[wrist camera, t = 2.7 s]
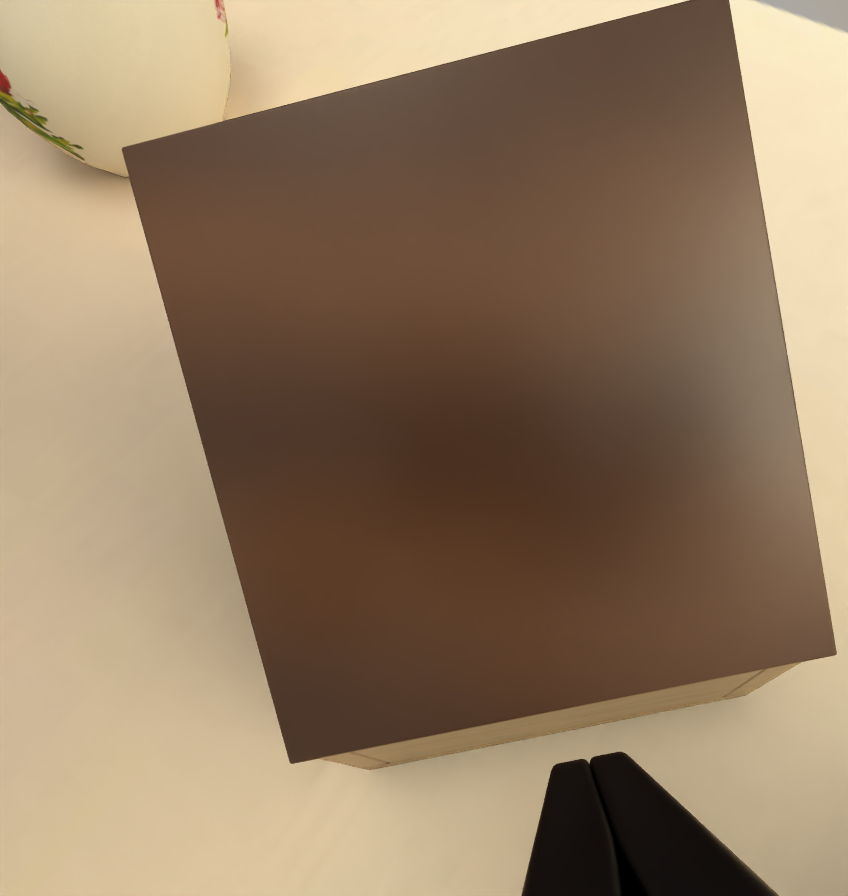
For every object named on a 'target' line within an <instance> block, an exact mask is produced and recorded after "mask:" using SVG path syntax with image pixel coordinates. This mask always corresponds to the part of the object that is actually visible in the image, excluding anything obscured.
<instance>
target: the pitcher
mask: <svg viewBox="0 0 848 896" xmlns="http://www.w3.org/2000/svg"><path fill="white" fill-rule="evenodd" d="M230 76H231V61H230V46H229V36H228V26H227V20H226V14H225V8H224V3H223V0H0V103H1V104H2V105H3V106H4V107H5V108H6V109H7V110H8V111H9V112H10V113H11V114H12V115H14V116H15V117H16V118H17V119H18V120H20V121H21V122H22V123H23V124H24V125H26V126H27V127H28V128H30V129H31V130H32V131H34V132H35V133H36V134H38V135H39V136H41V137H42V138H43V139H45V140H46V141H47V142H49V143H50V144H52V145H53V146H55V147H56V148H58V149H59V150H61V151H63V152H64V153H66V154H67V155H69V156H71V157H73V158H75V159H77V160H79V161H81V162H83V163H85V164H88V165H90V166H93V167H96V168H99V169H103V170H106V171H109V172H112V173H114V174H116V175H120V176H124V177H129V175H128V171H127V168H126V164H125V160H124V157H123V153H122V148H123V147H125V146H129V145H133V144H137V143H141V142H145V141H149V140H153V139H156V138H160V137H164V136H168V135H172V134H176V133H180V132H183V131H187V130H191V129H195V128H199V127H203V126H207V125H210V124H214V123H218V122H222V120H223V114H224V110H225V107H226V103H227V99H228V95H229V87H230Z"/></svg>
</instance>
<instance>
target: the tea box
mask: <svg viewBox="0 0 848 896" xmlns="http://www.w3.org/2000/svg"><path fill="white" fill-rule="evenodd" d="M799 663H800V662H798V663H793V664H788V665H783V666H778V667H773V668H768V669H763V670H758V671H754V672H749V673H744V674H739V675H734V676H729V677H724V678H719V679H714V680H709V681H704V682H699V683H694V684H689V685H684V686H679V687H674V688H669V689H664V690H659V691H654V692H649V693H644V694H639V695H634V696H629V697H624V698H619V699H614V700H609V701H604V702H599V703H594V704H589V705H584V706H579V707H574V708H569V709H564V710H559V711H554V712H549V713H544V714H539V715H534V716H529V717H524V718H519V719H514V720H509V721H504V722H499V723H494V724H489V725H484V726H479V727H474V728H469V729H464V730H459V731H454V732H449V733H444V734H439V735H434V736H429V737H424V738H419V739H414V740H409V741H404V742H399V743H394V744H389V745H384V746H379V747H374V748H369V749H364V750H359V751H354V752H349V753H344V754H339V755H334V756H329V757H324V758H319V759H322V760H327V761H331V762H336V763H340V764H345V765H349V766H354V767H358V768H363V769H367V770H372V769H377V768H382V767H387V766H392V765H397V764H402V763H407V762H412V761H417V760H422V759H427V758H432V757H437V756H442V755H447V754H452V753H457V752H462V751H467V750H472V749H478V748H483V747H488V746H493V745H498V744H503V743H508V742H513V741H518V740H523V739H528V738H533V737H538V736H543V735H548V734H553V733H558V732H563V731H568V730H573V729H578V728H584V727H589V726H594V725H599V724H604V723H609V722H614V721H619V720H624V719H629V718H634V717H639V716H644V715H649V714H654V713H659V712H664V711H669V710H674V709H679V708H684V707H689V706H695V705H700V704H705V703H710V702H715V701H720V700H725V699H730V698H735V697H740V696H745V695H747V694H748V693H750V692H752V691H754V690H756V689H757V688H759V687H761V686H762V685H764V684H766V683H767V682H769V681H771V680H772V679H774V678H776V677H777V676H779V675H781V674H782V673H784V672H786V671H787V670H789V669H790V668H792V667H794V666H795V665H797V664H799Z"/></svg>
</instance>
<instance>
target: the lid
mask: <svg viewBox="0 0 848 896" xmlns="http://www.w3.org/2000/svg"><path fill="white" fill-rule="evenodd" d="M122 153H123V157H124V160H125V164H126V168H127V171H128V175H129V179H130V182H131V186H132V189H133V193H134V197H135V200H136V204H137V208H138V211H139V215H140V219H141V222H142V226H143V229H144V233H145V237H146V240H147V244H148V248H149V251H150V255H151V259H152V262H153V266H154V270H155V273H156V277H157V280H158V284H159V288H160V291H161V295H162V299H163V302H164V306H165V310H166V313H167V317H168V321H169V324H170V328H171V331H172V335H173V339H174V342H175V346H176V350H177V353H178V357H179V361H180V364H181V368H182V372H183V375H184V379H185V382H186V386H187V390H188V393H189V397H190V401H191V404H192V408H193V412H194V415H195V419H196V423H197V426H198V430H199V433H200V437H201V441H202V444H203V448H204V452H205V455H206V459H207V463H208V466H209V470H210V474H211V477H212V481H213V484H214V488H215V492H216V495H217V499H218V503H219V506H220V510H221V514H222V517H223V521H224V525H225V528H226V532H227V535H228V539H229V543H230V546H231V550H232V554H233V557H234V561H235V565H236V568H237V572H238V575H239V579H240V583H241V586H242V590H243V594H244V597H245V601H246V605H247V608H248V612H249V616H250V619H251V623H252V626H253V630H254V634H255V637H256V641H257V645H258V648H259V652H260V656H261V659H262V663H263V667H264V670H265V674H266V677H267V681H268V685H269V688H270V692H271V696H272V699H273V703H274V707H275V710H276V714H277V718H278V721H279V725H280V728H281V732H282V736H283V739H284V743H285V747H286V750H287V754H288V758H289V761H290V763H291V764H294V763H299V762H304V761H309V760H314V759H319V758H324V757H329V756H334V755H339V754H344V753H349V752H354V751H359V750H364V749H369V748H374V747H379V746H384V745H389V744H394V743H399V742H404V741H409V740H414V739H419V738H424V737H429V736H434V735H439V734H444V733H449V732H454V731H459V730H464V729H469V728H474V727H479V726H484V725H489V724H494V723H499V722H504V721H509V720H514V719H519V718H524V717H529V716H534V715H539V714H544V713H549V712H554V711H559V710H564V709H569V708H574V707H579V706H584V705H589V704H594V703H599V702H604V701H609V700H614V699H619V698H624V697H629V696H634V695H639V694H644V693H649V692H654V691H659V690H664V689H669V688H674V687H679V686H684V685H689V684H694V683H699V682H704V681H709V680H714V679H719V678H724V677H729V676H734V675H739V674H744V673H749V672H754V671H758V670H763V669H768V668H773V667H778V666H783V665H788V664H793V663H798V662H803V661H808V660H813V659H818V658H823V657H828V656H833V655H836V653H837V652H836V646H835V640H834V634H833V628H832V622H831V616H830V610H829V604H828V598H827V592H826V586H825V580H824V574H823V568H822V562H821V556H820V549H819V543H818V537H817V531H816V525H815V519H814V513H813V507H812V501H811V495H810V489H809V483H808V477H807V471H806V465H805V459H804V453H803V446H802V440H801V434H800V428H799V422H798V416H797V410H796V404H795V398H794V392H793V386H792V380H791V374H790V368H789V362H788V356H787V350H786V343H785V337H784V331H783V325H782V319H781V313H780V307H779V301H778V295H777V289H776V283H775V277H774V271H773V265H772V259H771V253H770V247H769V240H768V234H767V228H766V222H765V216H764V210H763V204H762V198H761V192H760V186H759V180H758V174H757V168H756V162H755V156H754V150H753V143H752V137H751V131H750V125H749V119H748V113H747V107H746V101H745V95H744V89H743V83H742V77H741V71H740V65H739V59H738V53H737V47H736V40H735V34H734V28H733V22H732V16H731V10H730V4H729V0H689V1H685V2H681V3H677V4H674V5H670V6H666V7H662V8H658V9H654V10H650V11H647V12H643V13H639V14H635V15H631V16H627V17H623V18H620V19H616V20H612V21H608V22H604V23H600V24H596V25H593V26H589V27H585V28H581V29H577V30H573V31H569V32H566V33H562V34H558V35H554V36H550V37H546V38H542V39H538V40H535V41H531V42H527V43H523V44H519V45H515V46H511V47H508V48H504V49H500V50H496V51H492V52H488V53H484V54H481V55H477V56H473V57H469V58H465V59H461V60H457V61H454V62H450V63H446V64H442V65H438V66H434V67H430V68H427V69H423V70H419V71H415V72H411V73H407V74H403V75H400V76H396V77H392V78H388V79H384V80H380V81H376V82H373V83H369V84H365V85H361V86H357V87H353V88H349V89H346V90H342V91H338V92H334V93H330V94H326V95H322V96H318V97H315V98H311V99H307V100H303V101H299V102H295V103H291V104H288V105H284V106H280V107H276V108H272V109H268V110H264V111H261V112H257V113H253V114H249V115H245V116H241V117H237V118H234V119H230V120H226V121H222V122H218V123H214V124H210V125H207V126H203V127H199V128H195V129H191V130H187V131H183V132H180V133H176V134H172V135H168V136H164V137H160V138H156V139H153V140H149V141H145V142H141V143H137V144H133V145H129V146H125V147H123V148H122Z"/></svg>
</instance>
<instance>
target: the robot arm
mask: <svg viewBox="0 0 848 896" xmlns="http://www.w3.org/2000/svg"><path fill="white" fill-rule="evenodd" d="M521 896H779V895H778V894H777V893H776V892H775V891H774V890H773V889H771V888H770V887H769V886H768V885H767V884H766V883H765V882H764V881H763V880H762V879H761V878H760V877H759V876H757V875H756V874H755V873H754V872H753V871H752V870H751V869H750V868H749V867H748V866H747V865H746V864H745V863H743V862H742V861H741V860H740V859H739V858H738V857H737V856H736V855H735V854H734V853H733V852H732V851H731V850H729V849H728V848H727V847H726V846H725V845H724V844H723V843H722V842H721V841H720V840H719V839H718V838H717V837H715V836H714V835H713V834H712V833H711V832H710V831H709V830H708V829H707V828H706V827H705V826H704V825H703V824H701V823H700V822H699V821H698V820H697V819H696V818H695V817H694V816H693V815H692V814H691V813H690V812H689V811H687V810H686V809H685V808H684V807H683V806H682V805H681V804H680V803H679V802H678V801H677V800H676V799H675V798H673V797H672V796H671V795H670V794H669V793H668V792H667V791H666V790H665V789H664V788H663V787H662V786H661V785H659V784H658V783H657V782H656V781H655V780H654V779H653V778H652V777H651V776H650V775H649V774H648V773H647V772H645V771H644V770H643V769H642V768H641V767H640V766H639V765H638V764H637V763H636V762H635V761H634V760H633V759H631V758H630V757H629V756H628V755H627V754H625V753H623V752H615V753H610V754H605V755H600V756H595V757H592V758H591V760H590V765H589V763H588V762H587V761H586V760H584V759H579V760H574V761H569V762H564V763H559V764H556V765H555V766H553V768H552V770H551V774H550V778H549V782H548V786H547V790H546V795H545V799H544V803H543V807H542V811H541V816H540V820H539V824H538V828H537V832H536V836H535V841H534V845H533V849H532V853H531V857H530V862H529V866H528V870H527V874H526V878H525V882H524V887H523V891H522V895H521Z"/></svg>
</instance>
